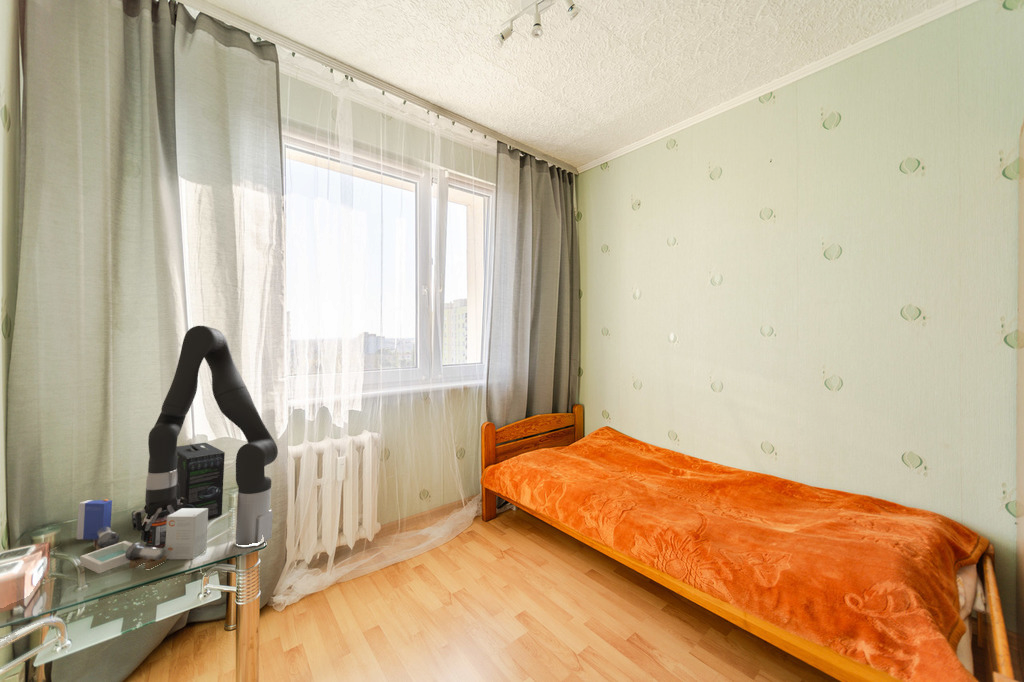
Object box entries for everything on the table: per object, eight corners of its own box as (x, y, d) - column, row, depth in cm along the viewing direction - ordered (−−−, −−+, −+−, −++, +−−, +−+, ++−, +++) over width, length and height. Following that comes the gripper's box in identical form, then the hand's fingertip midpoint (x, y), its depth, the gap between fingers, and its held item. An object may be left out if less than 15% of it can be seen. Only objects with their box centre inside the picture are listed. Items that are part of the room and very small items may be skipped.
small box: (206, 549, 125) (209, 507, 125) (192, 559, 118) (195, 516, 118) (179, 549, 124) (181, 507, 124) (163, 560, 117) (166, 516, 118)
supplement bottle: (142, 546, 124) (144, 510, 124) (165, 538, 130) (167, 504, 130) (150, 551, 121) (153, 515, 122) (174, 543, 127) (176, 508, 127)
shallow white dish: (143, 556, 119) (143, 548, 119) (98, 573, 110) (99, 564, 110) (124, 548, 123) (125, 540, 123) (80, 564, 113) (80, 555, 113)
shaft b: (92, 545, 124) (93, 526, 124) (113, 539, 127) (114, 521, 127) (97, 555, 118) (98, 535, 118) (118, 549, 122) (119, 530, 122)
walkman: (110, 535, 130) (112, 499, 130) (102, 539, 127) (104, 502, 127) (85, 535, 130) (87, 498, 130) (76, 539, 127) (78, 502, 127)
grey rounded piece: (167, 562, 116) (168, 542, 117) (151, 570, 112) (152, 550, 112) (141, 558, 117) (142, 539, 118) (124, 567, 113) (125, 547, 113)
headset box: (165, 508, 152) (169, 441, 152) (203, 499, 161) (207, 436, 162) (182, 526, 138) (186, 453, 138) (223, 516, 148) (226, 447, 148)
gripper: (180, 476, 134) (177, 525, 134) (126, 489, 120) (123, 544, 120) (194, 479, 131) (191, 530, 131) (140, 493, 118) (137, 550, 117)
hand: (159, 536), depth 126 cm, fingers open, 6 cm apart
